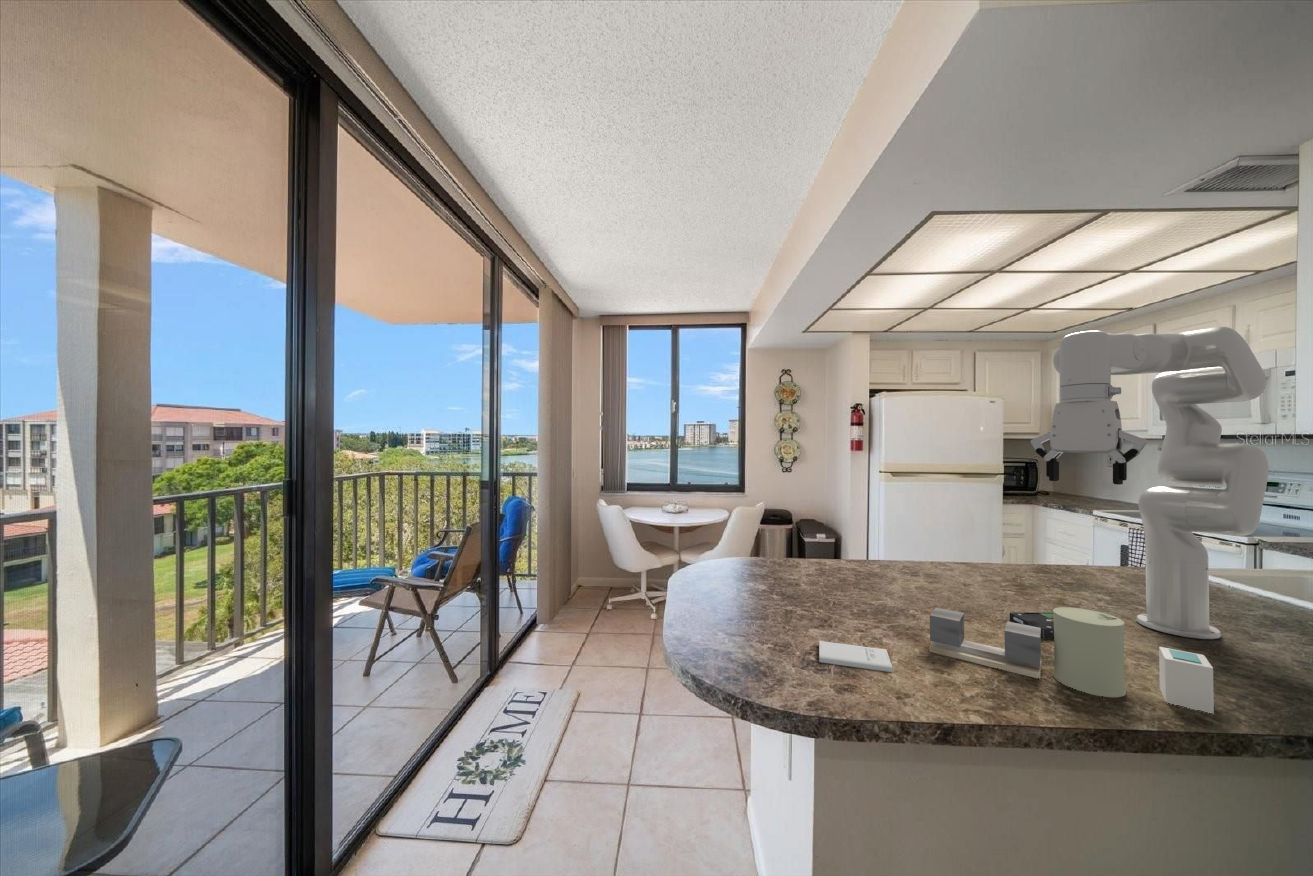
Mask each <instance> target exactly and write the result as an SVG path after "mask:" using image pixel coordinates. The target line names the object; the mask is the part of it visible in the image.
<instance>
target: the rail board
mask: <svg viewBox="0 0 1313 876" xmlns="http://www.w3.org/2000/svg"><path fill="white" fill-rule="evenodd" d="M1005 624H1006V625H1005V628H1004V648H1001V647H997V646H993V645H992V646H991V645H988V644H984V643H983V644H982V643H979V642H974V641H970V640H965V612H961V611H955V610H950V609H946V608H940V607H935V608H934V609H933V610H932V612H931V613H930V614H929V641H931V643H930V645H929V653H934V654H937V655H942V656H946V657H948V658H953V659H958V660H961V661H966V662H971V663H973V664H978V665H981V666H985V667H989V668H994V669H997V668H998V670H1001V669H1002V671H1005V672H1006V671H1007V672H1010V673H1014V674H1018V675H1023V676H1026V677H1031V678H1034V679H1038V678H1039V680H1041V674H1042V673H1041V672H1042V638H1041V628H1039V627H1034V626H1029V625H1024V624H1018V623H1013V622H1010V621H1007V622H1006V623H1005Z"/></svg>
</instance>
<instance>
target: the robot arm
mask: <svg viewBox="0 0 1313 876" xmlns="http://www.w3.org/2000/svg"><path fill="white" fill-rule="evenodd" d="M1052 359H1053V361H1052V362H1053V367H1054V369H1055V370H1056V372H1057V373H1058V374H1059V402H1057V403H1055V404H1054V405H1055V406H1054V410H1053V412H1052V418H1051V425H1050V431H1049V432H1047V433H1044V434H1042V435H1040V436H1038V437H1035V438H1032V439H1031V440H1030V444H1031V446H1032V447H1033V449H1034V450H1035V453H1036V454H1037V455H1039V456H1040V457H1041V458H1042V459H1043V460H1044V461H1045V465H1046V466H1045V467H1046V470H1045V471H1046V477H1047V478H1048V481H1049V482H1058V481H1059V480H1060V462H1059V461H1057V459H1058V458H1059V457H1060V456H1062V454H1064V453H1077V454H1078V453H1079V454H1080V453H1082V454H1084V453H1086V454H1087V453H1088V454H1089V453H1090V454H1091V453H1092V454H1094V453H1095V454H1099V453H1100V454H1108V455H1109V456H1110V457H1112V458H1113V459H1114V460H1115V462H1113V463H1112V484H1114V485H1123V483H1124V481H1127V477H1128V476H1127V475H1128V468H1127V467H1128V463H1129V462H1131V460H1133V459H1134V458H1135V457H1137V456H1139V455H1140V453H1141V451H1142V450H1144V448H1145V446H1146V445H1147V444H1148V440H1147V439H1146V438H1143V437H1140V436H1137V435H1135V434H1132V433H1130V432H1126V431H1124V430H1123V428H1122V427H1123V425H1122V419H1121V412H1120V407H1119V403H1118V401H1115V400H1112V399H1113V397H1114V396H1116V395H1122V388H1121V387H1120V386H1117V387H1116V386H1113V385H1112V376H1127V375H1128V376H1131V375H1132V376H1133V375H1141V374H1142V375H1143V374H1156V373H1157V374H1158V375H1156V376H1155V377H1154V378H1153V379H1152V382H1151V392H1152V396H1153V398H1154V401H1155V402H1156V404H1157V406H1158V409H1159V410H1160V413H1161V414H1162V416H1163V419H1164V421H1165V425H1166V429H1165V435H1164V439H1163V443H1162V446H1161V451H1160V455H1159V458H1158V459H1159V460H1158V465H1157V472H1158V475H1159V478H1161V479H1162V480H1163V481H1164V482H1167V483H1170V484H1174V485H1176V486H1174V485H1169V486H1168V485H1161V486H1153V487H1150V488H1148V489H1146V490H1144V491H1143V492H1142V493H1141V494H1140V495H1139V498H1138V510H1139V511H1138V512H1139V514H1140V519H1141V522H1142V527H1143V532H1144V533H1143V535H1144V546H1145V547H1144V549H1145V550H1144V551H1145V552H1144V553H1145V555H1144V556H1145V559H1144V560H1145V607H1146V608H1145V610H1146V613H1141V614H1137V615H1136V621H1137V623H1139V624H1140V625H1142V626H1143V627H1145V628H1146V627H1147V628H1149V629H1150V630H1154V631H1158V632H1162V633H1165V634H1169V635H1173V636H1179V637H1184V638H1190V639H1198V640H1199V639H1200V640H1216V639H1220V638H1221V637H1222V635H1221V630H1219V629H1218V628H1216V627H1215V626H1213V625H1210V587H1209V586H1210V585H1209V583H1210V581H1209V553H1208V550H1207V548H1206V546H1205V545H1204V544H1203V542H1202V541H1201V540H1200V539H1199V538H1198V537H1197V536H1196V535H1195V534H1194V533H1204V534H1211V535H1212V534H1213V535H1222V536H1232V537H1233V536H1234V537H1244V536H1245V537H1247V536H1250V535H1251V534H1253V533H1255V531H1256V529H1257V528H1258V526H1259V523H1260V520H1261V515H1262V510H1263V505H1264V500H1265V495H1266V489H1267V485H1268V484H1267V483H1268V480H1269V472H1270V471H1269V469H1270V468H1269V467H1270V466H1269V460H1268V458H1267V456H1266V454H1265V452H1264V451H1263V450H1262V449H1261V448H1260V447H1257V446H1255V445H1252V444H1248V443H1235V442H1234V443H1221V436H1222V432H1223V430H1222V425H1221V423H1220V422H1219V420H1217V419H1216V418H1215V417H1213V416H1212V415H1211V414H1210V413H1209V412H1206V410H1203V409H1202V408H1201V407H1199V404H1201V405H1202V404H1205V405H1207V404H1218V403H1219V404H1220V403H1223V404H1224V403H1239V402H1241V403H1242V402H1246V401H1248V402H1249V401H1251V400H1254V399H1257V398H1258V397H1260V396H1261V395H1262V394H1263V393H1264V391H1265V389H1266V386H1267V379H1266V374H1265V372H1264V370H1263V368H1262V366H1261V364H1260V363H1259V361H1258V359H1257V358H1256V356H1255V353H1253V351H1252V349H1251V347H1250V345H1249V344H1248V343H1247V341H1246V340H1245V339H1244V337H1242V335H1241V334H1240V333H1239V332H1238V331H1236V330H1234V329H1233V328H1231V327H1229V326H1214V327H1209V328H1202V329H1195V330H1190V331H1189V330H1188V331H1182V332H1175V333H1141V334H1132V333H1126V332H1125V333H1108V332H1106V331H1101V330H1085V331H1080V332H1079V331H1078V332H1074V333H1070V334H1067V335H1065V336H1064V337H1062V338H1061V340H1060V342H1059V347H1058V348H1057V349H1056V351H1055V352H1054V354H1053V358H1052ZM1048 441H1049V445H1050V449H1051V450H1049V451H1048V450H1046V448H1044V446H1043V443H1045V442H1048ZM1124 441H1128V442H1131V443H1132V446H1131V448H1130V449H1129V450H1127V451H1126V452H1125V453H1124V452H1123V451H1122V450H1123V448H1124V447H1123V446H1124ZM1177 485H1180V486H1177ZM1181 485H1182V486H1181ZM1191 486H1192V487H1191ZM1194 486H1195V487H1194ZM1196 486H1198V487H1196ZM1205 487H1207V488H1205ZM1208 487H1213V488H1208ZM1214 487H1215V488H1214ZM1216 487H1218V488H1216ZM1219 488H1220V489H1219ZM1222 488H1224V489H1222Z"/></svg>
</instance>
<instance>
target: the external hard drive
mask: <svg viewBox="0 0 1313 876" xmlns="http://www.w3.org/2000/svg"><path fill="white" fill-rule="evenodd" d="M818 642H819V643H818V653H819V655H818V662H819V663H824V664H830V665H831V664H832V665H838V666H845V667H852V668H860V669H866V670H872V671H882V672H887V673H893V665H892V662H891V659H890V656H889V654H888V650H887V649H886V648H885V649H884V648H876V647H869V646H863V645H855V644H847V643H841V642H840V643H839V642H831V641H824V640H819V641H818Z"/></svg>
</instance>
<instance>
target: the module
mask: <svg viewBox="0 0 1313 876" xmlns="http://www.w3.org/2000/svg"><path fill="white" fill-rule="evenodd" d="M1158 653H1159V654H1158V655H1159V656H1158V658H1159V659H1158V662H1159V665H1158V666H1159V670H1158V671H1159V690H1160V692H1162V693H1161V694H1162V698H1163V699H1165V700H1164V702H1165V701H1166V702H1167V703H1166V702H1165V703H1166V704H1168V703H1170V704H1169V705H1172V704H1174V705H1173V706H1176V705H1180V706H1184V707H1187V708H1186V709H1189V708H1190V709H1189V710H1193V709H1194V711H1197V710H1201V711H1205V712H1208V713H1207V714H1209V713H1213V714H1214V715H1215V709H1214V708H1215V703H1214V702H1215V699H1214V698H1215V697H1214V692H1215V691H1214V667H1213V666H1212V664H1211V662H1209V660H1208V659H1207V657H1206V656H1205V655H1204V654H1200V653H1195V652H1189V651H1184V650H1180V649H1179V650H1178V649H1175V648H1174V649H1173V648H1169V647H1163V646H1158ZM1180 706H1179V707H1180ZM1184 707H1183V708H1184ZM1201 711H1200V712H1201ZM1205 712H1204V713H1205ZM1213 714H1212V715H1213Z"/></svg>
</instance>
